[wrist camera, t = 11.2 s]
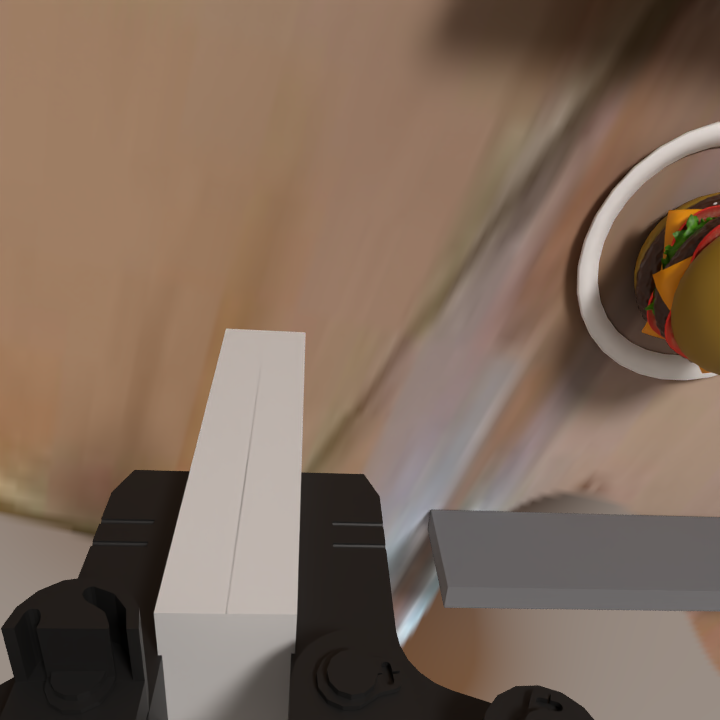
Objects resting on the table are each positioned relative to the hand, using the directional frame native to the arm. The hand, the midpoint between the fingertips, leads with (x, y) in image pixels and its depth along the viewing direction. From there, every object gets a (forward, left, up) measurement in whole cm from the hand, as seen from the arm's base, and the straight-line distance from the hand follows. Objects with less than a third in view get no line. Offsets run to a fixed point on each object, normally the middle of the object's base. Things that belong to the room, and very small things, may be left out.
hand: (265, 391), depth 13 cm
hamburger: (0, +14, -10) cm, 17 cm away
